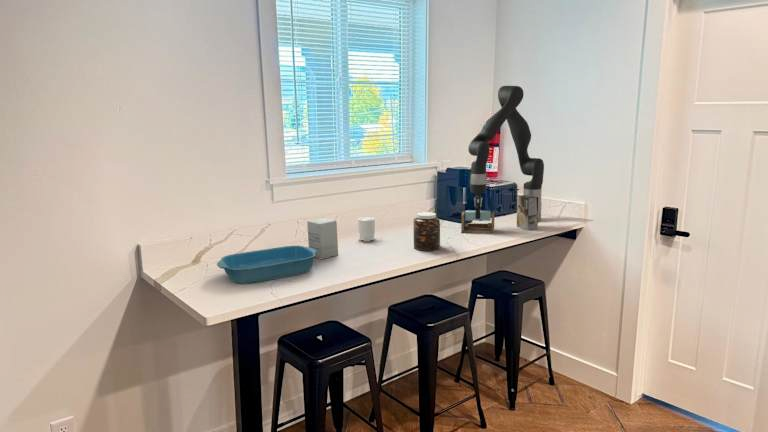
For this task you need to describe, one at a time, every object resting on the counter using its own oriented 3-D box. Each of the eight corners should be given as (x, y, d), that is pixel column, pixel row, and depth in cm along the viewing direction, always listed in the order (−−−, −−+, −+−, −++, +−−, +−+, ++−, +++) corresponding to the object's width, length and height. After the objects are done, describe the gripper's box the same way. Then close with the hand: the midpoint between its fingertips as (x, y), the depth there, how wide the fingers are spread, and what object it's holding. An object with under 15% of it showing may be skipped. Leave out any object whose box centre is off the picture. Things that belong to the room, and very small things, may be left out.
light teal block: (465, 218, 257) (465, 210, 257) (490, 218, 255) (490, 210, 254) (465, 220, 253) (465, 212, 252) (490, 220, 250) (490, 212, 250)
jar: (445, 247, 227) (445, 213, 224) (429, 252, 218) (429, 217, 216) (424, 243, 235) (424, 210, 232) (407, 248, 226) (407, 214, 223)
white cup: (355, 241, 242) (355, 220, 240) (362, 237, 249) (362, 216, 247) (371, 242, 239) (370, 220, 237) (378, 238, 246) (377, 217, 244)
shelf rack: (462, 229, 261) (462, 211, 260) (493, 229, 258) (494, 211, 257) (461, 233, 253) (461, 214, 251) (494, 233, 250) (494, 215, 248)
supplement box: (325, 251, 224) (323, 217, 221) (338, 255, 218) (337, 220, 215) (308, 255, 218) (306, 220, 215) (321, 259, 211) (319, 223, 209)
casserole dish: (225, 291, 176) (224, 270, 175) (212, 274, 196) (211, 256, 194) (326, 273, 194) (325, 254, 192) (305, 259, 213) (304, 242, 212)
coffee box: (538, 229, 257) (539, 197, 254) (528, 230, 255) (528, 198, 252) (525, 225, 266) (526, 194, 263) (515, 227, 263) (516, 195, 260)
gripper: (486, 184, 243) (485, 220, 246) (486, 181, 257) (485, 215, 260) (470, 184, 244) (469, 220, 248) (470, 181, 258) (470, 214, 261)
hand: (477, 217), depth 254 cm, fingers closed on light teal block, 5 cm apart
